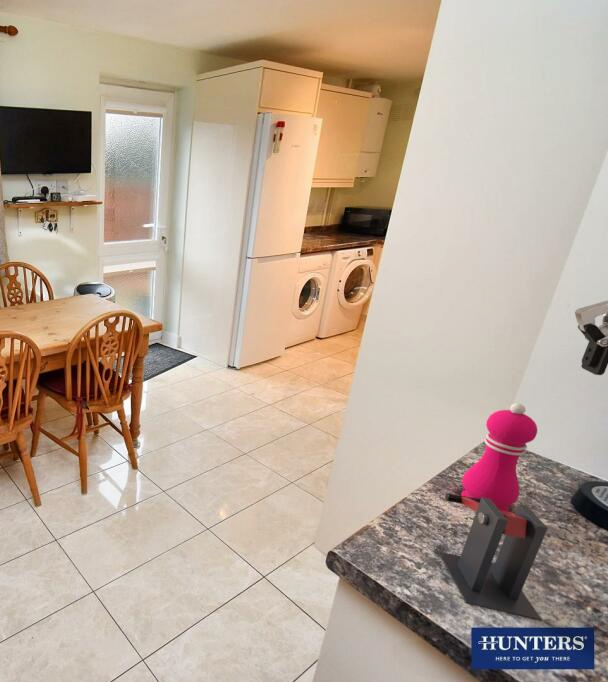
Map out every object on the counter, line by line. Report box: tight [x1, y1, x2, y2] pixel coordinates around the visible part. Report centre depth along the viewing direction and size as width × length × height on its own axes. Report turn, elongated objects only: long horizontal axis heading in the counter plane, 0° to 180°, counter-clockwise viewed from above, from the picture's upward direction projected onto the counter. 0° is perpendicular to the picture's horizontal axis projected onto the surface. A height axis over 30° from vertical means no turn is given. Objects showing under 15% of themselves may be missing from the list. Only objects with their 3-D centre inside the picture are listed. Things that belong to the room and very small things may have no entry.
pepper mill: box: [460, 402, 538, 512], centre depth 73 cm, size 7×7×20 cm
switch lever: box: [444, 492, 527, 538], centre depth 62 cm, size 13×4×2 cm, turn 162°
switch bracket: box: [437, 498, 548, 622], centre depth 58 cm, size 9×8×13 cm
